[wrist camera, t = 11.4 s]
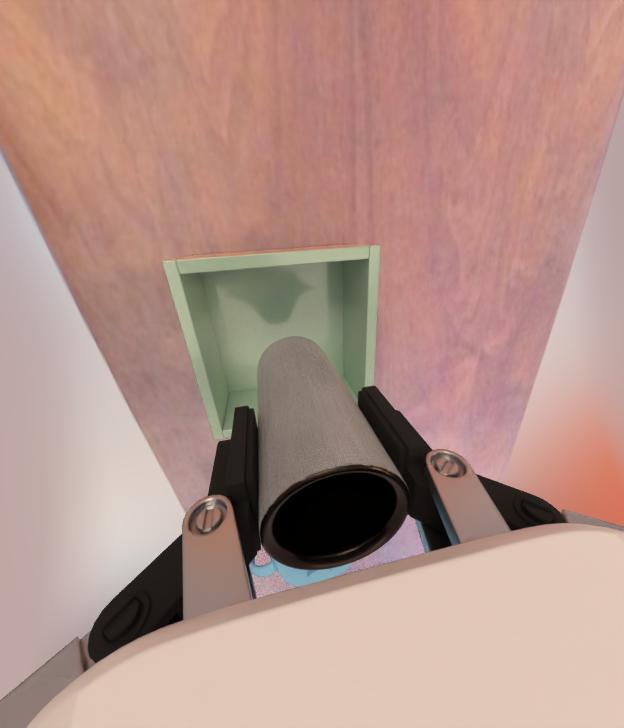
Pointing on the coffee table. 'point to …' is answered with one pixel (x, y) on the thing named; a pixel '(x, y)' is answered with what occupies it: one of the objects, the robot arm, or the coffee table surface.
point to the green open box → (273, 316)
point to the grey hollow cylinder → (319, 464)
